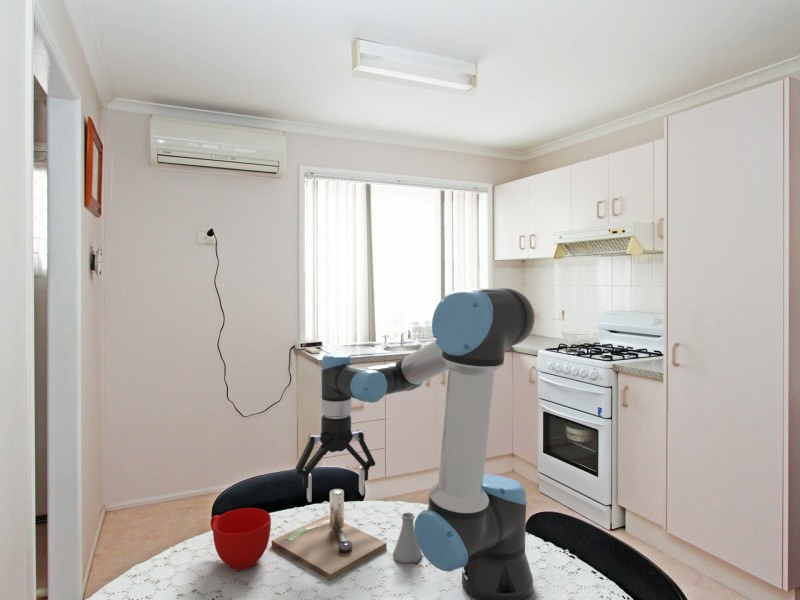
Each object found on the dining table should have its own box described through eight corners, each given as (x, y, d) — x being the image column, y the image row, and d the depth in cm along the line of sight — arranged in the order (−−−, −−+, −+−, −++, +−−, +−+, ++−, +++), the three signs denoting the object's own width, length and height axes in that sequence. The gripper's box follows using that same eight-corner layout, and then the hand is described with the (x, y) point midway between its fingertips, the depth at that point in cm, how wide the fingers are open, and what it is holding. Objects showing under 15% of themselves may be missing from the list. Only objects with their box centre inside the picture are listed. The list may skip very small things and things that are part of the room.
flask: (420, 566, 120) (420, 523, 119) (389, 562, 121) (389, 520, 121) (425, 549, 127) (425, 509, 126) (396, 546, 128) (396, 507, 128)
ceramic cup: (233, 538, 132) (233, 499, 132) (282, 557, 123) (282, 515, 123) (189, 562, 121) (189, 520, 120) (240, 585, 112) (240, 539, 112)
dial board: (386, 548, 127) (386, 542, 127) (330, 581, 114) (330, 573, 114) (327, 520, 142) (327, 514, 142) (271, 546, 128) (271, 539, 128)
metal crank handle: (354, 550, 123) (354, 510, 122) (339, 553, 122) (339, 512, 121) (340, 520, 138) (339, 484, 137) (326, 522, 137) (326, 486, 136)
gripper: (379, 407, 139) (378, 484, 141) (284, 414, 131) (284, 496, 133) (387, 414, 132) (386, 496, 133) (288, 422, 124) (288, 509, 125)
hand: (335, 496), depth 133 cm, fingers open, 13 cm apart
